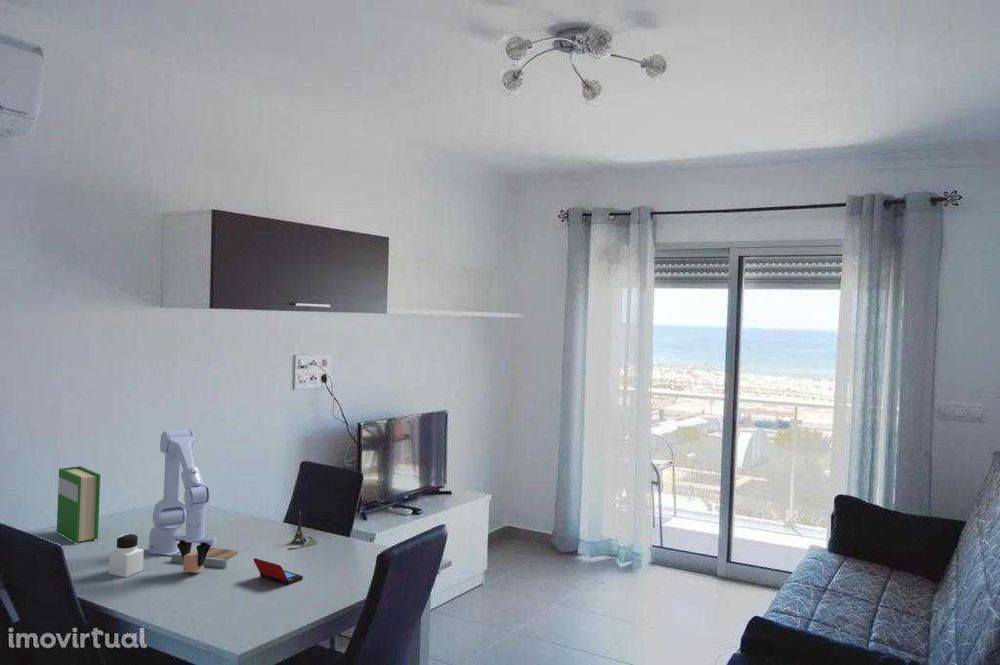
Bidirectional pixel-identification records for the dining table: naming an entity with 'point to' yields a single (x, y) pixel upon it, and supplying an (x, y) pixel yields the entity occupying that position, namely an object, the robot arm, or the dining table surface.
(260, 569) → the handheld game console
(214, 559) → the low wall
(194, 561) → the terracotta block
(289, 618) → the dining table surface
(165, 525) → the robot arm
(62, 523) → the hardback book
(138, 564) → the medicine bottle
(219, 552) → the walnut pad
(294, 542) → the eiffel tower figurine
